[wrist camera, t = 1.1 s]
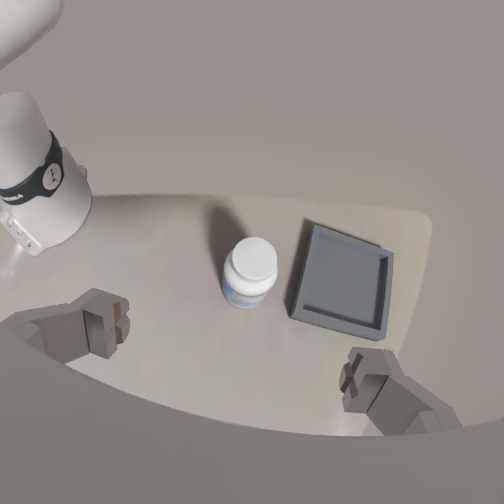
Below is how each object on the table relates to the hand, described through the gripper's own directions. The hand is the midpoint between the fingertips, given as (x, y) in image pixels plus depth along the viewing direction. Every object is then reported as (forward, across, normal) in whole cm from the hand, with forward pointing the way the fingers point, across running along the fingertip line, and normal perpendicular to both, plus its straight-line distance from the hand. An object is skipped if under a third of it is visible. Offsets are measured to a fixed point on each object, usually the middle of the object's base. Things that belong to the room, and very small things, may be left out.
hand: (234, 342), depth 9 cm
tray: (+31, -13, +9) cm, 34 cm away
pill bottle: (+27, +2, +11) cm, 29 cm away
